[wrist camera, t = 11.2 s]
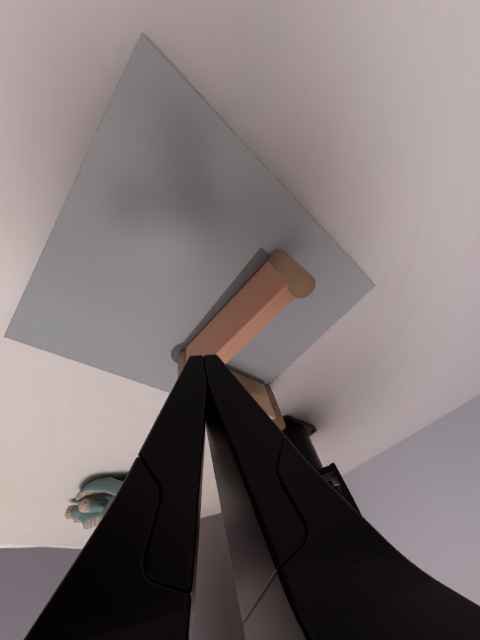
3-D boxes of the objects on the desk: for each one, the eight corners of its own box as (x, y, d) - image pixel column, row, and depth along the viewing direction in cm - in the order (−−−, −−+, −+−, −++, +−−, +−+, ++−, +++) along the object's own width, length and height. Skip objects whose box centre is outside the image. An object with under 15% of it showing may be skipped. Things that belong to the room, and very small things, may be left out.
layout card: (371, 282, 22) (375, 285, 21) (235, 410, 28) (236, 415, 28) (143, 38, 11) (141, 31, 11) (8, 331, 18) (3, 337, 17)
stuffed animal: (16, 547, 25) (118, 538, 24) (57, 472, 31) (141, 461, 29) (81, 566, 32) (165, 559, 30) (104, 500, 37) (176, 492, 36)
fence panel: (188, 364, 22) (189, 406, 18) (173, 357, 21) (171, 399, 17) (292, 258, 18) (320, 284, 14) (279, 245, 17) (305, 268, 14)
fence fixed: (274, 387, 26) (289, 425, 22) (264, 396, 27) (277, 434, 23) (201, 354, 21) (205, 395, 18) (191, 366, 22) (193, 407, 18)
